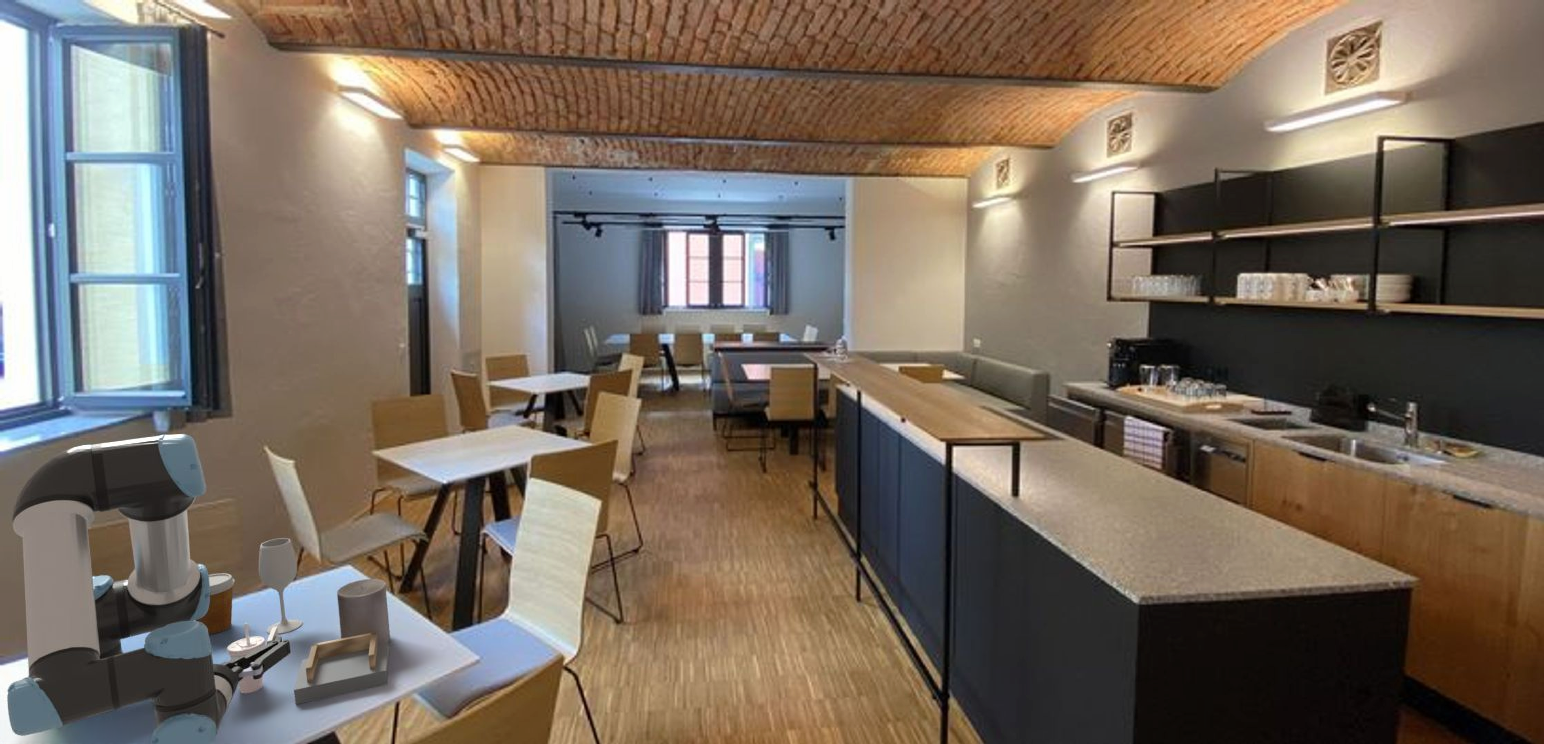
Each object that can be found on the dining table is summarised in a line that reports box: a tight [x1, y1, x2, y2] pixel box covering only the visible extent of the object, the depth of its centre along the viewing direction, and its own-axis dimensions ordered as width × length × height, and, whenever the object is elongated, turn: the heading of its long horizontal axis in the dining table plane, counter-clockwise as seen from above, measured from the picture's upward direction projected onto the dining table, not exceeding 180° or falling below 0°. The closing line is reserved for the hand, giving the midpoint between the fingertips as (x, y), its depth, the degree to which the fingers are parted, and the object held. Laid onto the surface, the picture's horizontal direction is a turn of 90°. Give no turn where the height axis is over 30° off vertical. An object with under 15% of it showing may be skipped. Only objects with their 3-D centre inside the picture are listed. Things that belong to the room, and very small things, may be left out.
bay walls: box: [306, 632, 378, 682], centre depth 158 cm, size 12×11×3 cm
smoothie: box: [226, 622, 267, 694], centre depth 153 cm, size 6×6×14 cm
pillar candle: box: [336, 578, 391, 645], centre depth 171 cm, size 10×10×15 cm
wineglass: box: [258, 537, 303, 635], centre depth 180 cm, size 8×8×21 cm
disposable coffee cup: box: [194, 572, 236, 635], centre depth 180 cm, size 10×10×12 cm
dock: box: [293, 643, 390, 705], centre depth 157 cm, size 16×13×3 cm
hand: (233, 641), depth 143 cm, fingers open, 13 cm apart
